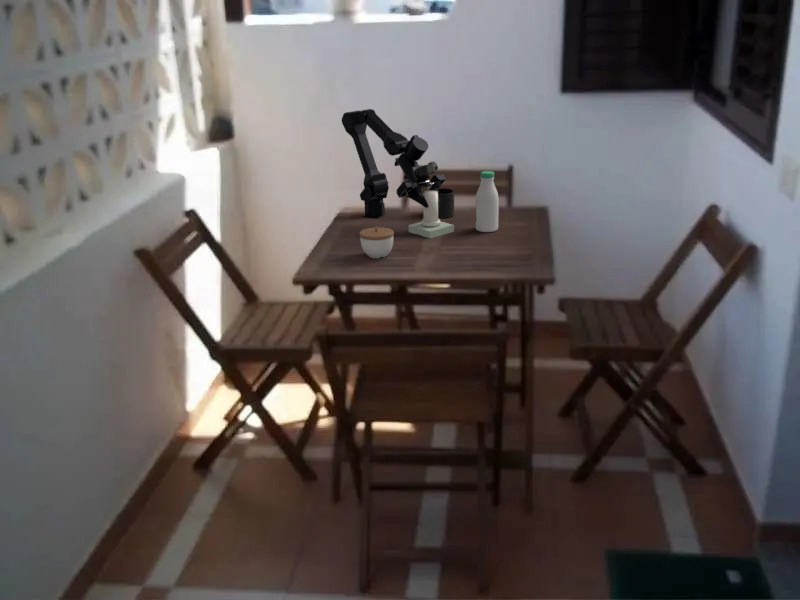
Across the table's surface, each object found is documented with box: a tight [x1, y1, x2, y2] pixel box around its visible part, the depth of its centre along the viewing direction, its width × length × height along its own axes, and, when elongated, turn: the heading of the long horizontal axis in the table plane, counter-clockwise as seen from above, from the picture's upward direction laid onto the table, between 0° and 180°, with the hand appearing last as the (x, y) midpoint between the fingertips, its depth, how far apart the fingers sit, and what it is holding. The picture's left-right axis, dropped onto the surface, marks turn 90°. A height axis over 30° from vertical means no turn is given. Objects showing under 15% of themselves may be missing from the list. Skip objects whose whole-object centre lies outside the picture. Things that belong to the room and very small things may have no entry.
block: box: [408, 220, 455, 239], centre depth 298 cm, size 11×11×2 cm
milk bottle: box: [475, 170, 499, 233], centre depth 296 cm, size 8×8×20 cm
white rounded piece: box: [421, 190, 441, 226], centre depth 296 cm, size 6×6×11 cm
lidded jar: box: [359, 226, 395, 259], centre depth 274 cm, size 11×11×9 cm
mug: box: [438, 187, 455, 219], centre depth 317 cm, size 9×12×9 cm
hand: (433, 205), depth 294 cm, fingers closed on white rounded piece, 5 cm apart
